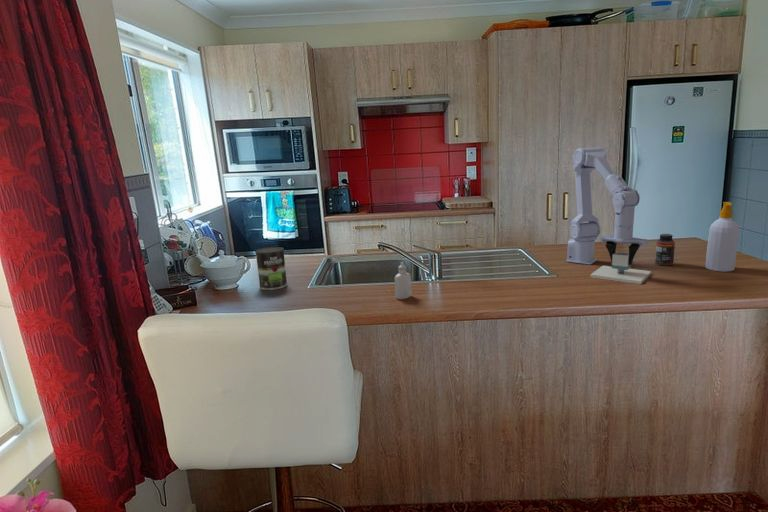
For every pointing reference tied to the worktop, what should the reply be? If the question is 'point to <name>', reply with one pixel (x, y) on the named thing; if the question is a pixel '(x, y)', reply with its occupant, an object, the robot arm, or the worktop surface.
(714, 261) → the soap bottle
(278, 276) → the coffee can
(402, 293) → the eye dropper bottle
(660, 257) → the supplement bottle
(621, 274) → the pin board
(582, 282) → the worktop surface
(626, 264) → the sleeve
